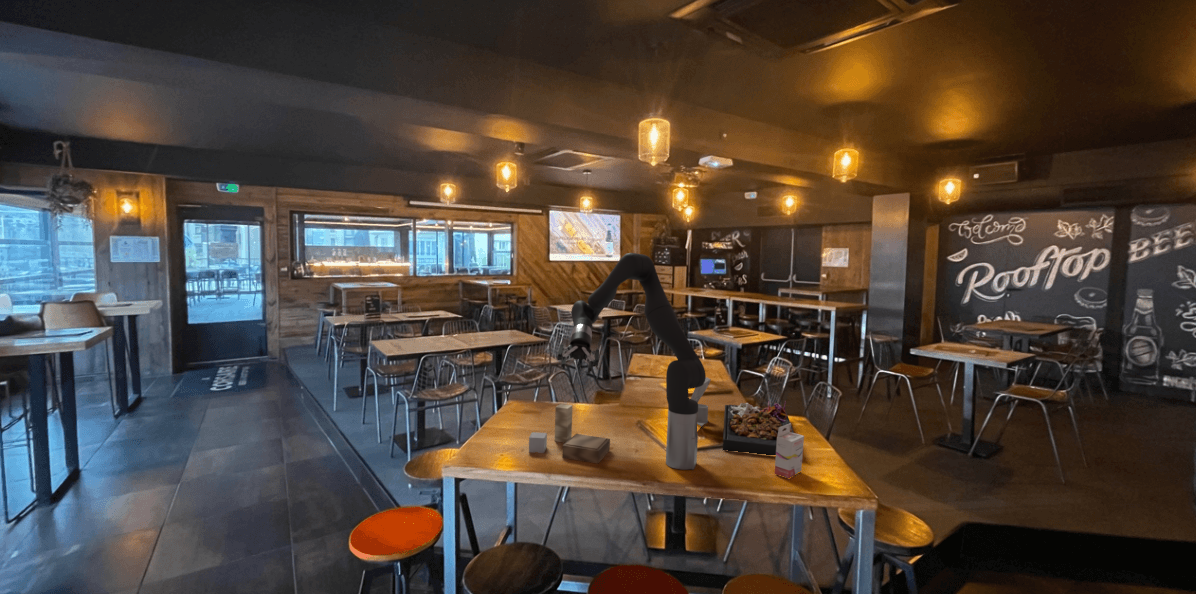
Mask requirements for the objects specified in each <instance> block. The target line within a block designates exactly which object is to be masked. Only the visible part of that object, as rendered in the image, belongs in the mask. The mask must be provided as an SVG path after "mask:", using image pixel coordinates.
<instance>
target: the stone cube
mask: <svg viewBox="0 0 1196 594" xmlns="http://www.w3.org/2000/svg"><path fill="white" fill-rule="evenodd" d="M547 439H548V433H547V432H536V431H535V432H533V431H532V432H531V434H530V435H529V437H528V453H535V452H538V453H537V454H544V453H545V452H546V449H547V446H548V442H547Z"/></svg>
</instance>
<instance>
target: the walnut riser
mask: <svg viewBox="0 0 1196 594" xmlns="http://www.w3.org/2000/svg"><path fill="white" fill-rule="evenodd" d="M610 445H611V438H608V437H607V438H606V437H601V436H594V435H586V434H582V433H575V434H574V435H573V436H571V439H569V440H568V441H567V442H566V443H563V445H562V451H561V452H562V453H561V454H562V456H561V457H562V459H569V460H575V461H580V462H587V463H594V464H599V463H600V462H601V461H602V460H603V459H604V458H605V457H606V455H607V454H608V453H609V451H610V450H611V449H610V448H611V447H610Z"/></svg>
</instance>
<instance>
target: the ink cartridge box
mask: <svg viewBox="0 0 1196 594" xmlns="http://www.w3.org/2000/svg"><path fill="white" fill-rule="evenodd" d="M791 426H792V423H791V422H790V423H789V424H787V425H784V426H782V427H779V430H778V436H777V445H776V457H775V459H774V460H775V461H774V475H775V474H777V475H781V476H784V477H786V478H790V477H792V476H794V475H795V474H797V473H798V472H800V471H801V472H802V464H803V453H804V441H805V435H802V434H799V433H795V432H794V433H791V432H790V427H791ZM784 428H786V430H785V431H782V430H783V429H784ZM777 475H776V476H777ZM794 477H795V476H794ZM786 478H785V479H786ZM792 478H793V477H792Z"/></svg>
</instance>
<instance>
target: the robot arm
mask: <svg viewBox="0 0 1196 594" xmlns="http://www.w3.org/2000/svg"><path fill="white" fill-rule="evenodd" d="M628 280H632V281H638V282H639V283H640V285H641V286H642V289H643V291H644V294H645V301H644V302H645V303H644V309H643V310H644V317H645V318H646V320H647V322H648V325H649V327H650V329H651V331H652V333H653V334H654V335H655V336H656V337H657V338H658V339H659V340H660V341H661V342H662V343H664V344H665V345H666V346H667V347H668V348H669V350H671V351H672V353H673V354H674V355H675V357H676V359H675V360H673V361H671V362H670V363H669V364H668V366H667V368H666V374H665V375H666V379H665V381H666V382H665V383H666V385H665V386H666V392H665V394H666V401H667V406H668V407H667V425H666V428H667V430H666V445H665V446H666V450H665V451H666V452H665V464H666V465H667V466H668V467H669V468H671V469H672V468H673V469H677V470H694V469H696V466H697V461H698V460H697V459H698V444H699V443H698V439H699V434H698V432H697V423H698V404H699V402H698V403H697V402H696V401H695V400H692V399H691V398H689V390H691V389H695V388H697V387H700V386H702V385H703V384H704V382H705V379H706V377H707V376H706V374H707V373H706V370H705V367H704V364H703V363H702V360H701V359H700V357H699V356H698V354H697V353H696V350H695V349H694V347H692V345H691V343H690V341H689V339H688V338H687V335H686V334H685V332H684V330H683V327H682V326H681V324H680V322H679V319H678V317H677V315H676V313H675V311H674V309H673V306H672V304H671V303H670V300H669V299H668V297H667V295H666V292H665V291H664V289H663V285H662V283H661V282H660V281H661V280H660V278H659V275H658V273H657V270H656V266H655V264H654V262H653V260H652V258H651V257H650V256H648V255H646V254H643V253H635V252H629V253H628V252H627V253H625V254H624V255H623V256H622V257H621V258H620V259H619V261H618V262H617V263H616V265H615V266H614V267H613V268H612V271H610V273H609V274H608V275H607V276H606V278H605V280H604V281H603V282H602V283H601V284H600V286H599V287H598V288H596V289H595V290H594V291H593V292H592V293H591V294H590V295H589V296H588V298H587V302H586V301H584V300H577V301H575V302H574V304H573V305H572V306H571V314H570V315H571V318H572V323H573V328H572V331H571V333H570V334H571V335H570V339H569V340H570V341H569V345H568V346H565V345H564V344H563V343H560V345H559V347H558V352H557V357H556V360H557V361H561V363H560V367H561V368H562V370H565V369H566V363H567V361H571V360H572V359H574V360H581V361H584V363H586V364H587V365H588V369H587V373H588V374H590V373H591V372H593V368H594V367H593V366H596V367H598V366H599V361H600V349H598V348H597V349H595V350H592V349H591V348H592V347H591V346H592V337H593V333H592V332H593V325H594V324H595V323H596V321H597V320H598V318H599V316H600V314H601V312H602V311H603V309H605V308H606V307H607V306H608V305H609V304H610V303H611V302H612V301H613V300H614V299H615V297H616V295H617V291H618V288H619V286H620V285H621V284H623V283H624V282H626V281H628ZM565 352H566V353H565ZM591 355H592V356H591Z"/></svg>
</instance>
